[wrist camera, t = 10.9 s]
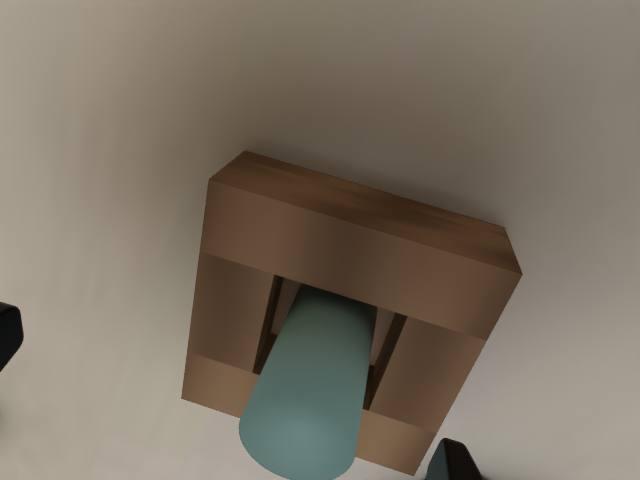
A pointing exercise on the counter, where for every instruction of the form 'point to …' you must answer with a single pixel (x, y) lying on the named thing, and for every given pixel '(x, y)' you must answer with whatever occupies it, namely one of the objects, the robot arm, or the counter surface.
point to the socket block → (345, 293)
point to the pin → (312, 388)
